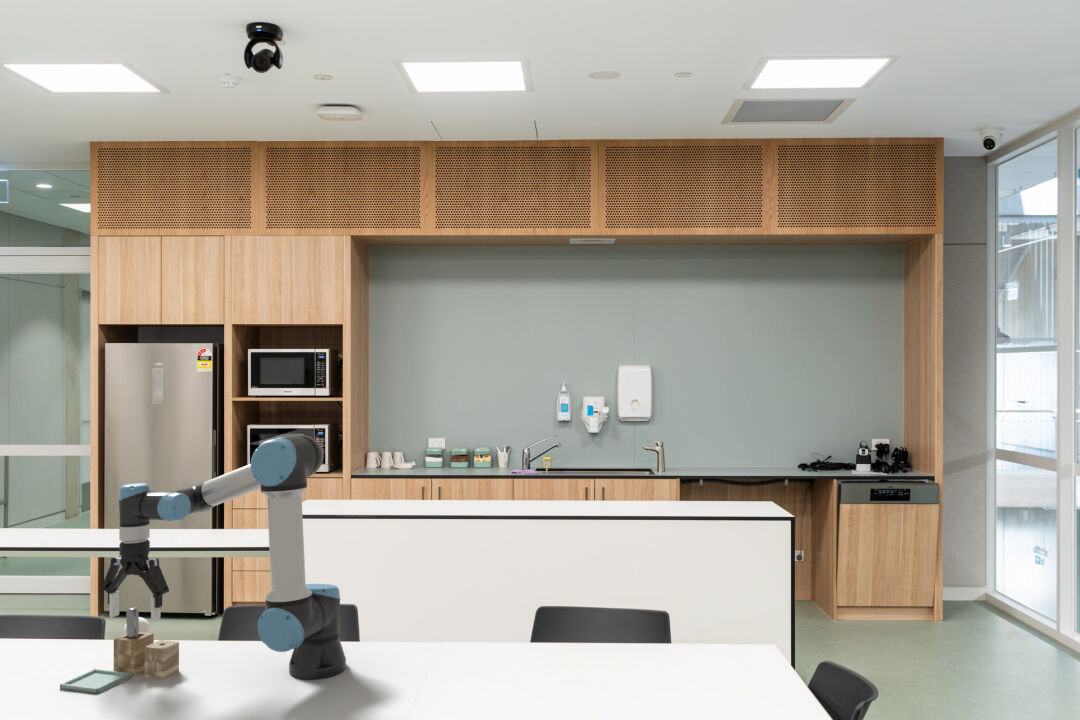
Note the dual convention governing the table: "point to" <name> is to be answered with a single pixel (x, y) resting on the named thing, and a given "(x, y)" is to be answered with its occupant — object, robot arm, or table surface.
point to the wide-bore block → (131, 652)
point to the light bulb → (140, 626)
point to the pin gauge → (132, 622)
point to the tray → (95, 681)
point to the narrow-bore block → (161, 659)
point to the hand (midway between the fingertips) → (134, 617)
